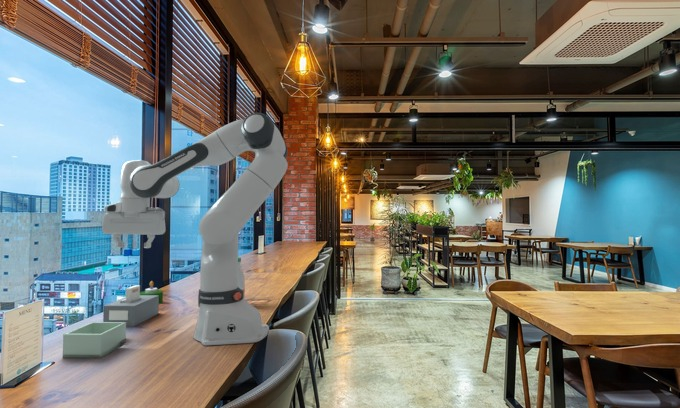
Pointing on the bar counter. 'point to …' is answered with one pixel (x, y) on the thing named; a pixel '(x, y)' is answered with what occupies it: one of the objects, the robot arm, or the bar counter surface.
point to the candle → (153, 292)
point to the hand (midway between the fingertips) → (133, 247)
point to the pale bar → (132, 293)
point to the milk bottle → (241, 277)
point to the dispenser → (131, 310)
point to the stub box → (94, 340)
